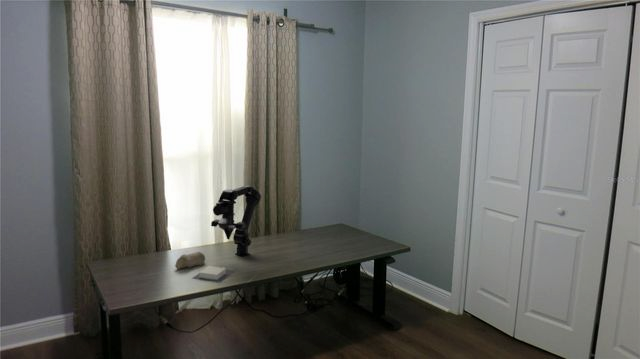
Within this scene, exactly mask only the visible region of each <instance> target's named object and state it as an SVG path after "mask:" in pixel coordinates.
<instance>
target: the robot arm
mask: <svg viewBox="0 0 640 359" xmlns="http://www.w3.org/2000/svg"><path fill="white" fill-rule="evenodd" d="M243 195H244V196H245V203H246V207H245V209H244V213H243V215H242V220H241V221H238V222H236V223H235V220H234V219H235V218H234V216H236V215H235V210H234V209H235V204H237V202H236V201H235V200H237V199H238V197H241V196H243ZM261 198H262V196H261V193H260V192H259V191H258V190H256V189H255V188H254V187H253V186H252V185H245V184H244V185H243V186H241V187H237V188H234V189H223V190H222V192H221V195H220V196H219V199H218V202H216V203H215V205H214V206H213V209H212V211H213V212H212V213H213V214H214V215H215V216H217V217H219V216H221V219H214V220H212V221H211V224H210V226H211V227H217V226H218V227H219V229H220V230H221V229H222V230H223V232H224V234H225V237H226V239H227V240H230V238H231V236H232V233H233V232H234V233H233V243H234V245H236V253H234V255H236V256H238V257H239V256H240V257H245V256H248V255H250V254H251V253H250V252H249V246H251V245H252V240H251V239H250V237H249V236H250V232H249V227H250V224H251V220H252V217H253V214H254V211H255V208H256V207H257V206H258V205H259V203H260V201H261ZM234 229H235V230H234Z"/></svg>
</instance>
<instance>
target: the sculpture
mask: <svg viewBox="0 0 640 359" xmlns="http://www.w3.org/2000/svg"><path fill="white" fill-rule="evenodd" d="M205 262H206V257H205V254H204V253H203V252H201V251H196V252H192V253H189V254H187V253H185V254H184V253H183V254H182V255H181V256H179V258H177V260H176V261H175V265H174V267H175V269H176V270H178V271H179V270H182V269H184V268H185V269H189V268H192V267H193V266H203V265H204V263H205Z"/></svg>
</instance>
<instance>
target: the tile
mask: <svg viewBox="0 0 640 359" xmlns="http://www.w3.org/2000/svg"><path fill="white" fill-rule="evenodd" d="M226 269H227V268H226V267H219V266H213V265H208V266H206V267H204V268H203V269H202V270H200V271H199V273H198V274H199V278H203V279H210V280H218V279H220V278H221V277H222V276H224V275H225V274H226Z"/></svg>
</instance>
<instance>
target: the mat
mask: <svg viewBox="0 0 640 359" xmlns="http://www.w3.org/2000/svg"><path fill="white" fill-rule="evenodd" d="M235 272H236V270H234V269H227V268H226V274H225V275H224V276H222V277H221V278H220V279H218V280H210V279H203V278H199V273H198V274H196V275H194V276H193V277H192V278H191V280H192V279H193V280H197V281H204V282H207V281H208V282H211V283H222V282H224V281H225V280H226V279H227V278H229V277H230V276H231V275H232V274H233V273H235Z"/></svg>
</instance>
